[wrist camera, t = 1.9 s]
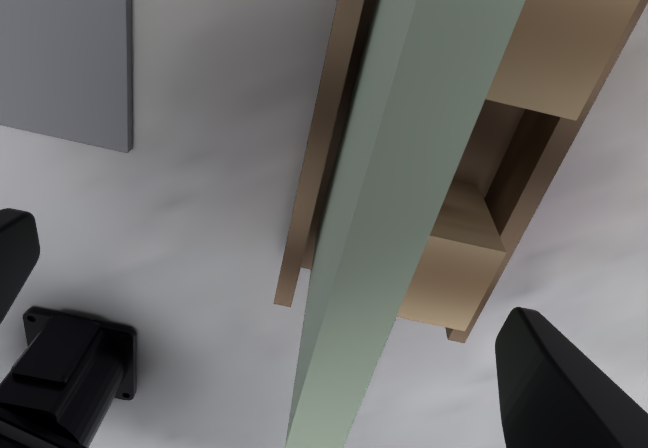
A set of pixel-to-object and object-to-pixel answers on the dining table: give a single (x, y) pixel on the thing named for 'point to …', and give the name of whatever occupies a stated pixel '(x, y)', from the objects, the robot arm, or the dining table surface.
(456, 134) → the green rectangular slab
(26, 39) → the mat
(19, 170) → the dining table surface
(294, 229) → the rack
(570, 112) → the offcut
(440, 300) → the offcut
